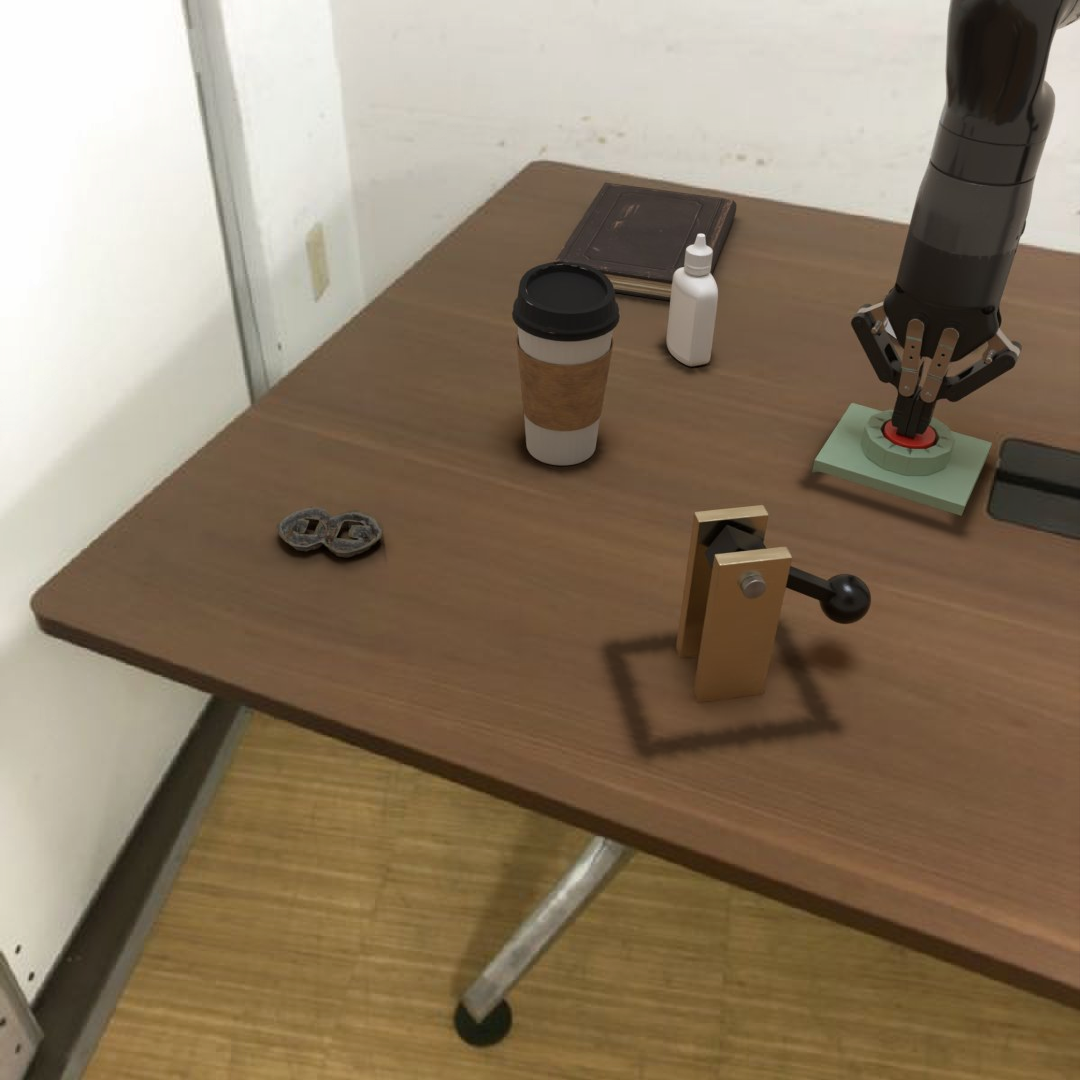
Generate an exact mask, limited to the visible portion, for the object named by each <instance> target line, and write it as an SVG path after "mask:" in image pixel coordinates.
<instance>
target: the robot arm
mask: <svg viewBox="0 0 1080 1080" xmlns="http://www.w3.org/2000/svg"><path fill="white" fill-rule="evenodd" d="M947 15H948V16H947V25H946V47H945V48H946V49H945V100H944V103H943V106H942V109H941V113H940V116H939V120H938V124H937V127H936V131H935V136H934V140H933V144H932V147H931V152H930V156H929V160H928V163H927V167H926V169H925V172H924V174H923V177H922V179H921V181H920V185H919V188H918V191H917V194H916V197H915V198H916V199H915V202H914V206H913V210H912V214H911V217H910V221H909V226H908V231H907V233H906V238H905V242H904V246H903V251H902V255H901V259H900V263H899V267H898V271H897V274H896V278H895V283H894V286H893V287H892V288H891V289H890V290H889V291H888V293H887V294H886V295H885V297H884V298H883V301H881V302H879V303H876V304H870V303H864V304H862V305H861V306H860V307H859V309H858V310H857V312H856V313H855V315H854V316H853V318H852V319H851V321H850V326H851V328H852V330H853V332H854V334H855V335H856V337H857V339H858V341H859V344H860V345H861V348H862V349H863V351H864V353H865V355H866V357H867V359H868V361H869V362H870V365H871V366H872V369H873V371H874V372H875V374H876V377H877V379H878V380H879V381H880V382H882V383H884V384H891V385H892V386H894V388H895V389H896V390H897V396H896V400H895V404H894V408H893V410H894V411H893V415H892V419H891V422H892V426H894V427H898V428H897V432H896V434H898V435H901V436H904V437H908V438H911V439H914V438H915V437H916V435H917V433H918V434H923V433H924V432H925V431H926V430H927V428H928V426H929V424H930V422H931V419H932V417H933V415H934V413H935V409H936V405H937V402H938V401H939V400H947V401H949V402H951V403H956V402H960V401H961V400H962V399H964V398H966V397H968V396H969V395H970V394H972V393H974V392H976V391H977V390H979V389H980V388H982V387H983V386H986V385H987V384H989V383H991V382H992V381H994V380H996V379H997V378H999V377H1000V376H1002V375H1004V374H1006V373H1008V371H1010V370H1012V369H1013V368H1015V366H1016V363H1017V362H1018V360H1019V357H1020V355H1021V353H1022V349H1023V347H1022V345H1021V344H1020V342H1018V341H1016V340H1010V339H1009V338H1008V337H1007V336H1006V335H1005V334H1004V332H1003V331H1002V330H1001V328H1000V327H1001V325H1002V320H1003V318H1002V315H1001V311H1000V305H1001V301H1002V297H1003V295H1004V291H1005V288H1006V285H1007V282H1008V278H1009V275H1010V273H1011V269H1012V266H1013V262H1014V259H1015V257H1016V253H1017V249H1018V247H1019V243H1020V240H1021V238H1022V236H1023V234H1024V232H1025V229H1026V227H1027V217H1028V214H1029V211H1030V207H1031V202H1032V198H1033V196H1032V195H1033V189H1034V185H1035V181H1036V180H1035V179H1036V176H1037V172H1038V169H1039V166H1040V163H1041V160H1042V156H1043V153H1044V150H1045V146H1046V143H1047V140H1048V136H1049V134H1050V130H1051V127H1052V124H1053V119H1054V116H1055V111H1056V94H1055V91H1054V89H1053V87H1052V86H1051V85H1050V84H1049V82H1048V81H1046V80H1045V78H1046V72H1047V69H1048V63H1049V58H1050V52H1051V50H1052V49H1051V48H1052V45H1053V41H1054V38H1055V35H1056V33H1057V30H1060V29H1063V28H1065V27H1068V26H1070V25H1072V24H1074V23H1075V22H1078V21H1079V20H1080V0H949V6H948V13H947ZM887 318H888V320H889V322H890V325H891V327H892V329H893V331H894V333H895V336H896V338H897V339H896V338H895V339H896V340H897V342H898V344H899V346H900V347H901V348H902V349H903V353H902V359H901V357H900V356H899V353H898V351H897V350H896V348H895V346H894V343H893V341H892V339H891V338H890V335H889V333H888V332H887V331H886V330H885V328H886V326H887V324H888V321H887ZM986 343H987V346H986V347H985V349H984V350H983V352H982V356H981V357H982V358H980V359H978V361H976V362H974V363H973V364H970V365H969V366H968V367H966V368H965V369H963V370H961V371H960V372H958V373H956V374H955V375H954V376H947V375H948V373H949V370H950V368H951V365H952V364H953V363H955V362H959V361H961V360H962V359H964V358H965V357H967V356H968V355H970V354H971V353H972V352H974V351H976V350H978V348H980V347H981V346H983V345H984V344H986ZM926 358H929V359H931V362H930V365H929V367H928V371H927V372H926V377H925V379H924V383H923V385H920V384H921V381H922V379H923V376H924V369H925V364H926ZM905 435H906V436H905Z"/></svg>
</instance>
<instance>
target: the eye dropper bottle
mask: <svg viewBox="0 0 1080 1080" xmlns="http://www.w3.org/2000/svg"><path fill="white" fill-rule="evenodd" d="M712 255H713V250H712V249H711V248H710V247H709V246H706V240H705V235H704V234H698V235H697V237H696V241H695V243H694V245H690V246H688V247H687V248H686V254H685V263H684V267H682V268H679V269H677V270H676V271H675V273H674V275H673V281H672V289H671V299H670V301H669V308H668V310H669V311H668V320H667V329H666V339H665V342H666V348H667V350H668V352H669V353H670V355H671V356H672V357H673V358H674V359H675V360H677V361H678V362H680V363H681V364H684V365H685V366H687V367H697V366H702V365H707V364H709V363H710V361H711V357H712V356H711V355H712V348H713V342H714V332H715V326H716V320H717V319H716V318H717V311H718V310H717V309H718V301H719V288H718V285H717V282H716V280H715V278H714V276H713V274H712V275H711V273H710V271H711V263H712Z"/></svg>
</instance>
